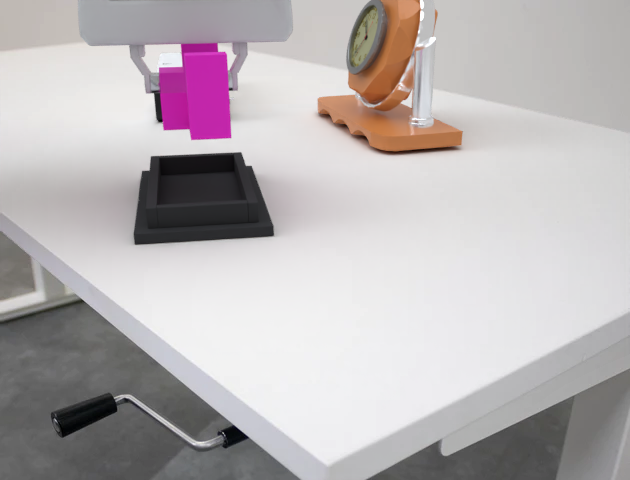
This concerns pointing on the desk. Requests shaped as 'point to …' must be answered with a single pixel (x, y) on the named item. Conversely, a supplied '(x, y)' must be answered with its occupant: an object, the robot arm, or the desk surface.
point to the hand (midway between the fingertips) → (192, 91)
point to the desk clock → (392, 78)
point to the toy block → (197, 93)
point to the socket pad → (200, 200)
